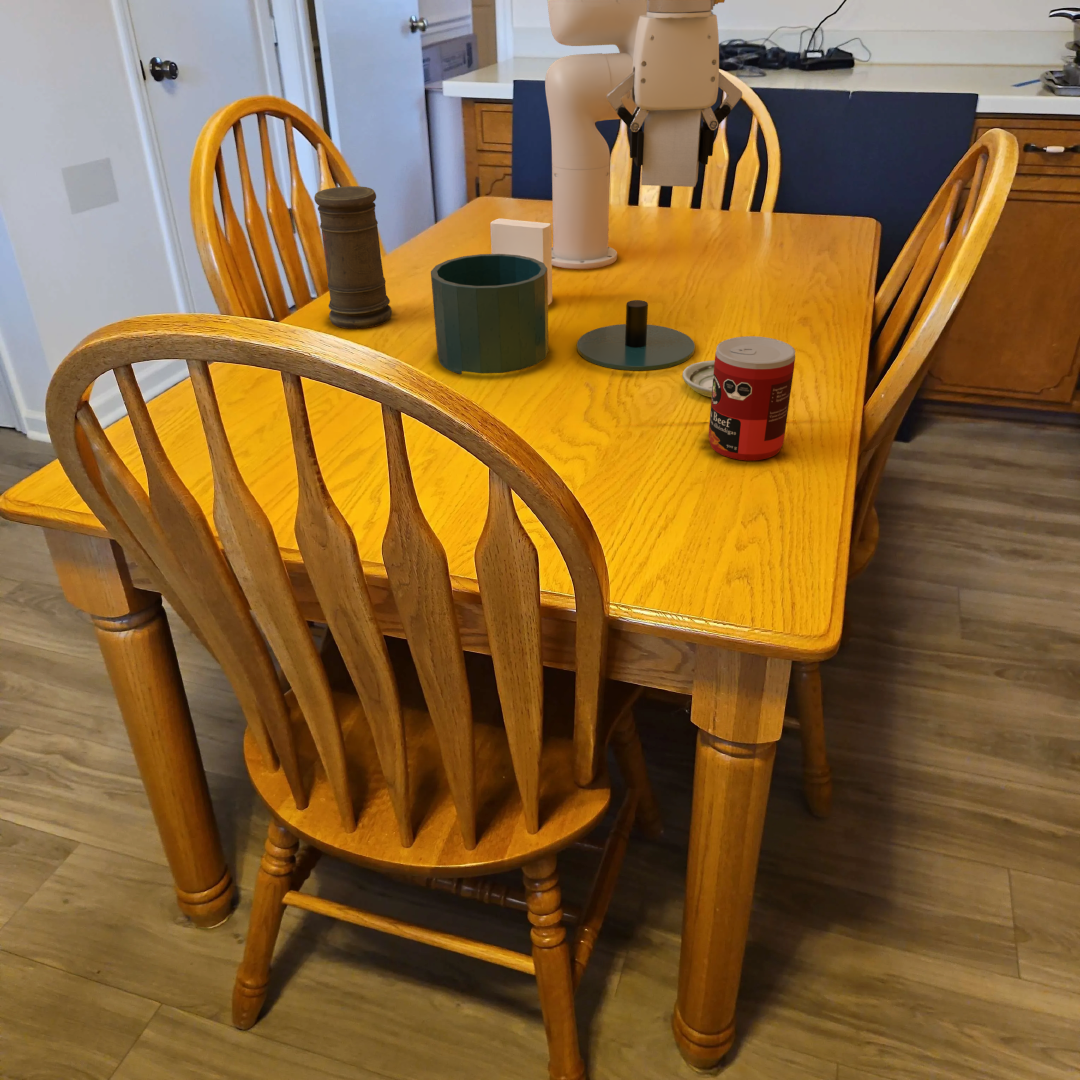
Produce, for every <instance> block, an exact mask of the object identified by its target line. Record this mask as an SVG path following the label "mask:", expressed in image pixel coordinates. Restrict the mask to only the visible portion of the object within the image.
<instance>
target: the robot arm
mask: <svg viewBox="0 0 1080 1080" xmlns="http://www.w3.org/2000/svg"><path fill="white" fill-rule="evenodd" d="M546 1H547V11H548V12H547V13H548V20H549V21H548V22H549V26H550V27H549V28H550V32H551V34H552V37H553V39H554V40H555V41H556V42H557V44H559V45H563V46H569V47H590V46H591V47H592V46H593V47H594V46H609V45H610V46H616V47H617V49H618V52H610V53H602V52H601V53H598V52H597V53H579V54H577V53H576V54H570V55H569V54H568V55H566V56H562V57H560V58H558V59H556V60H555V61H553V62H552V63H551V64H550V65H549V67H548V69H547V70H546V74H545V77H544V78H545V79H544V85H545V87H544V89H545V98H546V105H547V111H548V116H549V117H548V118H549V126H550V138H551V139H550V141H551V183H552V184H551V185H552V186H551V190H552V192H551V195H552V197H551V198H552V199H551V201H552V202H551V203H552V246H551V248H552V267H557V268H560V269H561V268H562V269H568V270H569V269H570V270H589V269H597V268H603V267H606V266H607V267H608V266H610V265H612V264H613V263H615V262H616V261H617V259H618V252H617V250H616V249H614V248H613V247H611V246H609V224H610V223H609V221H610V218H609V217H610V173H611V171H610V168H611V165H610V164H611V152H610V147H609V145H608V143H607V140H606V138H604V136H603V135H602V134H601V132H600V131H599V130H598V128H597V126H596V123H597V122H602V121H609V120H610V121H611V120H621V121H622V122H623V123H624V124H625V125H626V126H627V127H628V128H629V129H630V130H629V131H630V132H629V133H630V134H629V158H630V159H633V162H634V164H635V166H636V167H642V165H643V148H644V130H643V124H644V123H645V119H646V117H647V115H648V114H649V112H650V110H685V109H700V110H701V113H702V119H701V120H702V121H703V122H702V125H701V136H700V150H699V163H700V164H702V165H705V166H706V165H708V164H709V157H712V156H713V153H714V144H715V131H716V130H717V129H718V127H719V125H720V124H721V123H722V122H723V121H724V120H726V118H727V117H728V116H730V114H731V112H732V110H733V109H734V108H735V106H736V105H737V104H738V103H739V101H740V100H741V98H742V97H743V91H742V90H741V89H740V88H739V87H737V86H736V85H735V84H734V83H733V82H732V81H730V80H729V79H728V78H727V77H726V75H725V76H724V74H723V73H721V72H720V40H719V39H720V38H719V36H720V35H719V24H718V16H717V15H716V14H715V13H714V14H713V10H714V7H715V6H716V5H718V4H723V3H725V1H726V0H546ZM719 88H720V89H721V90H722V91H723V92H724V93H725V95H726V96H725V98H724V100H723V101H722V103H720V104H719V105H718V106H717V107H716V108H715V109H714V110H713V109H712V107H713V106H714V105H715V104H716V102H717V100H718V93H719Z"/></svg>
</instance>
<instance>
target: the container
mask: <svg viewBox="0 0 1080 1080" xmlns="http://www.w3.org/2000/svg"><path fill="white" fill-rule="evenodd" d="M313 197H314V203H315V204H317V206H318V207H317V211H318V212H319V218H320V225H319V228H320V230H321V237H322V246H323V252H324V259H325V260H324V261H325V267H326V275H327V288H328V293H329V303H328V309H329V310H330V312H329V315H328V317H329V321H330V323H331V324H332V325H334V326H335V327H338V328H342V329H367V328H373V327H377V326H380V325H382V324H385V323H387V322H388V321H389V320H390V319H391V318H392V314H393V310H392V307H391V306H390V305H389V304H390V303H391V299H390V298H389V297H388V295H387V289H386V278H385V276H384V269H383V262H382V253H381V244H380V237H379V229H378V222H379V221H378V220H377V217H376V206H377V205H376V203H375V201H376V199H377V194H376V191H375V190H374V188H371V187H367V186H359V185H355V186H354V185H349V186H346V185H345V186H338V187H337V186H335V187H330V188H325V189H322V190H319V191H317V192H315V194H314V196H313Z"/></svg>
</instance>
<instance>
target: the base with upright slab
mask: <svg viewBox="0 0 1080 1080" xmlns="http://www.w3.org/2000/svg"><path fill="white" fill-rule="evenodd" d="M489 226H490V227H489V228H490V245H491V247H490V249H491V254H509V255H520V256H524V257H529V258H534V259H536V260H538V261H540V262H542V263H544V265H545V266H546V267H547V280H548V306H549V305H551V304H552V303H553V265H552V222H551V223H550V222H541V221H531V220H520V219H519V220H518V219H508V218H496V219H494V220H492V221H490V223H489Z"/></svg>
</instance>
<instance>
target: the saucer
mask: <svg viewBox="0 0 1080 1080" xmlns="http://www.w3.org/2000/svg"><path fill="white" fill-rule="evenodd" d="M714 362H715V359H714V360H704V361H699V362H695V363H692V364H690V365H688V366H687V367H686V368H684V370H683V371H682V375H681V376H682V379H683V381H684V382H685V384H686V385H688V387H689V388H691V389H692V390H693V391H694V392H696V393H697V394H699V395H702V396H704V397H708V398H710V399H712V386H713V374H714Z"/></svg>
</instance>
